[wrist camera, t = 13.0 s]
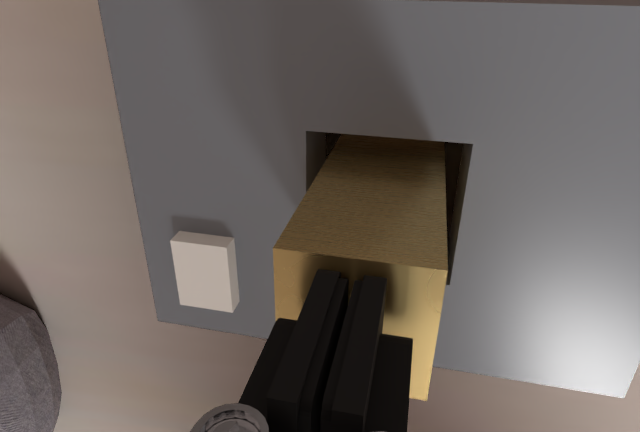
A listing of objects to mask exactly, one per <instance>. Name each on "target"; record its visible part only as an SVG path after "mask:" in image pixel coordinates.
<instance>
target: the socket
mask: <svg viewBox="0 0 640 432" xmlns="http://www.w3.org/2000/svg"><path fill="white" fill-rule="evenodd" d="M98 3H99V8H100V14H101V19H102V24H103V30H104V35H105V41H106V46H107V51H108V57H109V62H110V67H111V73H112V78H113V83H114V89H115V94H116V99H117V105H118V110H119V115H120V121H121V126H122V131H123V137H124V142H125V147H126V153H127V158H128V163H129V169H130V174H131V179H132V185H133V190H134V196H135V201H136V206H137V212H138V217H139V222H140V228H141V233H142V238H143V244H144V249H145V254H146V260H147V265H148V270H149V276H150V281H151V286H152V292H153V297H154V302H155V308H156V313H157V318H158V321H161V322H167V323H173V324H179V325H185V326H191V327H197V328H203V329H209V330H215V331H221V332H227V333H234V334H240V335H246V336H252V337H258V338H264V339H268V337H269V335H270V333H271V331H272V328H273V326H274V324H275V322H276V321H275V294H274V267H273V247H274V245H275V244H276V242H277V240H278V239H279V237H280V235H281V234H282V232H283V230H284V229H285V227H286V225H287V224H288V222H289V220H290V219H291V217H292V215H293V214H294V212H295V211H296V209H297V207H298V206H299V204H300V202H301V201H302V199H303V197H304V196H305V194H306V192H307V191H308V189H309V187H310V186H311V184H312V182H313V181H314V179H315V177H316V176H317V174H318V172H319V171H320V169H321V168H322V166H323V164H324V163H325V161H326V132H328V133H340V134H353V135H366V136H379V137H391V138H404V139H417V140H429V141H442V142H455V143H463V149H462V156H461V162H460V169H459V175H458V181H457V188H456V194H455V201H454V207H453V213H452V220H451V226H450V233H449V239H448V240H447V257H448V273H447V279H446V285H445V291H444V298H443V304H442V310H441V316H440V322H439V328H438V335H437V341H436V347H435V353H434V359H433V365H432V367H438V368H444V369H450V370H456V371H462V372H468V373H474V374H480V375H486V376H492V377H498V378H504V379H510V380H516V381H522V382H529V383H535V384H541V385H547V386H553V387H559V388H565V389H571V390H577V391H583V392H589V393H595V394H601V395H607V396H613V397H619V398H624V397H625V395H626V393H627V390H628V388H629V386H630V383H631V381H632V379H633V376H634V374H635V372H636V370H637V367H638V365H639V363H640V0H98Z"/></svg>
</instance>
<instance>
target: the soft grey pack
mask: <svg viewBox="0 0 640 432" xmlns="http://www.w3.org/2000/svg"><path fill="white" fill-rule="evenodd" d="M61 393H62V392H61V385H60V379H59V372H58V365H57V361H56V357H55V354H54V351H53V347H52V344H51V340H50V337H49V333H48V330H47V329H46V327H45V326H44V324H43V323H42V321H41V320H40V318H39V317H38V315H37V314H36V312H35V311H34V310H32V309H30V308H28V307H26V306H24V305H22V304H20V303H18V302H16V301H13V300H11V299H9V298H7V297H5V296H3V295H1V294H0V432H53V431H54V428H55V425H56V421H57V418H58V415H59V409H60V401H61Z"/></svg>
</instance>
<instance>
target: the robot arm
mask: <svg viewBox="0 0 640 432" xmlns="http://www.w3.org/2000/svg"><path fill="white" fill-rule="evenodd" d="M348 286H349V280H348V279H345V278H341V272H338V271H330V270H323V269H318V270H317V272H316V274H315V277H314V279H313V282H312V284H311V287H310V289H309V292H308V294H307V297H306V299H305V302H304V304H303V307H302V309H301V312H300V314H299V317H298V319H297V320H292V319H285V318H278V319H277V321H276V322H275V324H274V326H273V328H272V331H271V333H270V335H269V337H268V339H267V342H266V344H265V346H264V348H263V350H262V352H261V355H260V357H259V359H258V361H257V363H256V366H255V368H254V370H253V372H252V374H251V376H250V379H249V381H248V383H247V385H246V387H245V390H244V392H243V394H242V396H241V398H240V400H239V403H234V404H225V405H222V406H219V407H216V408H214V409H212V410H211V411H209V412H207V413H206V414H204V415H203V416H202V417H201V418H200V419H199V420H198V422H197V423H196V424H195V425H194V427H193V428H192V429H191V431H190V432H407V422H408V407H409V393H410V379H411V364H412V350H413V338H408V337H401V336H395V335H388V334H382V330H383V320H384V309H385V298H386V287H387V278H383V277H375V276H368V275H364V278H363V281H360V280H355V281H354V285H353V288H352V292H351V296H350V300H349V303H348Z"/></svg>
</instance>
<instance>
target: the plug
mask: <svg viewBox="0 0 640 432" xmlns="http://www.w3.org/2000/svg"><path fill="white" fill-rule="evenodd" d="M273 267H274V294H275V321H277V319H278V318H285V319H292V320H297V319H298V317H299V314H300V312H301V309H302V307H303V304H304V302H305V299H306V297H307V294H308V292H309V289H310V287H311V284H312V282H313V279H314V277H315V274H316V272H317V270H318V269H323V270H330V271H338V272H341V278H345V279H348V280H349V286H348V303H349V300H350V296H351V292H352V288H353V285H354V281H355V280H360V281H363V278H364V275H368V276H375V277H383V278H387V287H386V298H385V309H384V320H383V330H382V334H388V335H395V336H401V337H408V338H413V350H412V364H411V379H410V393H409V398H413V399H419V400H424V401H427V396H428V390H429V384H430V378H431V372H432V365H433V359H434V353H435V347H436V341H437V335H438V328H439V322H440V316H441V310H442V304H443V298H444V291H445V285H446V279H447V273H448V257H447V219H446V182H445V144H444V142H442V141H429V140H417V139H404V138H391V137H379V136H366V135H353V134H341V136H340V138H339V139H338V141H337V143H336V144H335V146H334V148H333V149H332V151H331V153H330V154H329V156H328V158H327V159H326V161H325V163H324V164H323V166H322V168H321V169H320V171H319V172H318V174H317V176H316V177H315V179H314V181H313V182H312V184H311V186H310V187H309V189H308V191H307V192H306V194H305V196H304V197H303V199H302V201H301V202H300V204H299V206H298V207H297V209H296V211H295V212H294V214H293V215H292V217H291V219H290V220H289V222H288V224H287V225H286V227H285V229H284V230H283V232H282V234H281V235H280V237H279V239H278V240H277V242H276V244H275V245H274V247H273Z"/></svg>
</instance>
